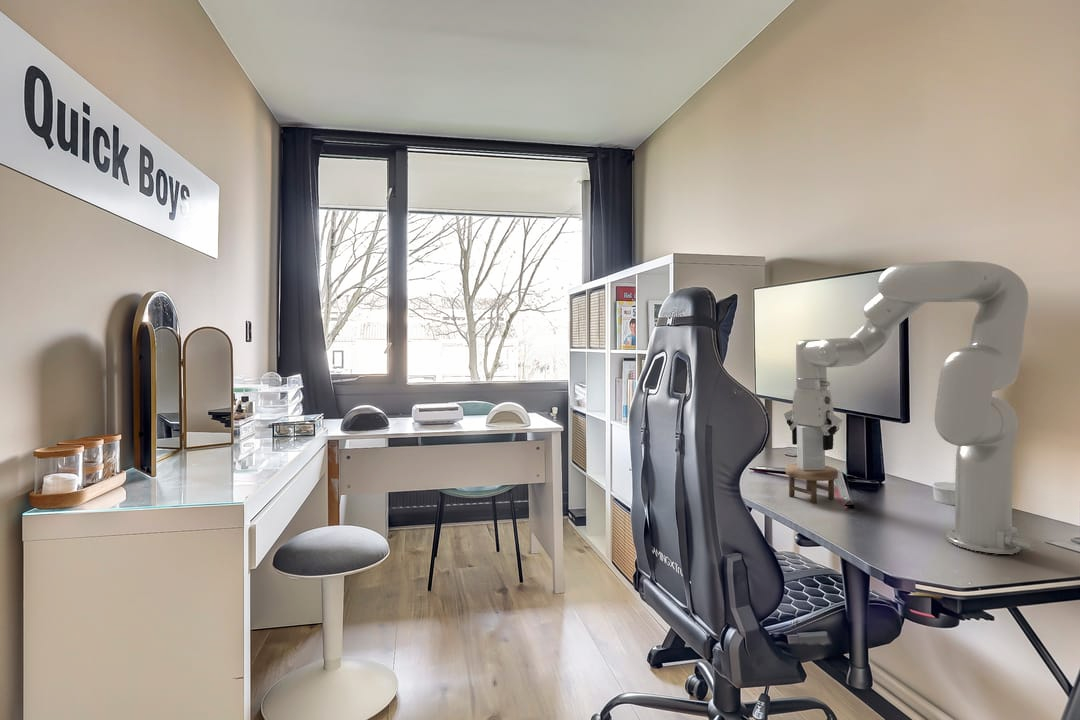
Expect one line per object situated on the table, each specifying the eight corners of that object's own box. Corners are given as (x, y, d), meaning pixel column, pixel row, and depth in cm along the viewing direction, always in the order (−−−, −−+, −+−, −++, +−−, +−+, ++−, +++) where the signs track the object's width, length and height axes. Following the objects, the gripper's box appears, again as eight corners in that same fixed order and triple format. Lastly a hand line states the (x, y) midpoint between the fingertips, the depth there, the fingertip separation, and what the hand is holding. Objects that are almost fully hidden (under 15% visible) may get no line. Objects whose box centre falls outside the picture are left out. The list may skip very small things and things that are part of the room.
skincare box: (818, 466, 160) (818, 424, 159) (825, 470, 155) (825, 426, 155) (796, 467, 160) (796, 424, 159) (802, 470, 156) (802, 427, 155)
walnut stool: (848, 499, 155) (848, 470, 155) (816, 507, 149) (816, 477, 149) (807, 488, 167) (806, 461, 166) (775, 495, 161) (775, 467, 161)
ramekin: (940, 506, 149) (940, 489, 148) (926, 496, 157) (926, 480, 157) (979, 507, 146) (980, 491, 146) (963, 497, 155) (963, 482, 155)
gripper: (849, 385, 150) (850, 450, 151) (794, 382, 166) (795, 440, 166) (830, 387, 147) (831, 453, 148) (775, 383, 162) (776, 443, 163)
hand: (812, 446), depth 157 cm, fingers open, 9 cm apart
